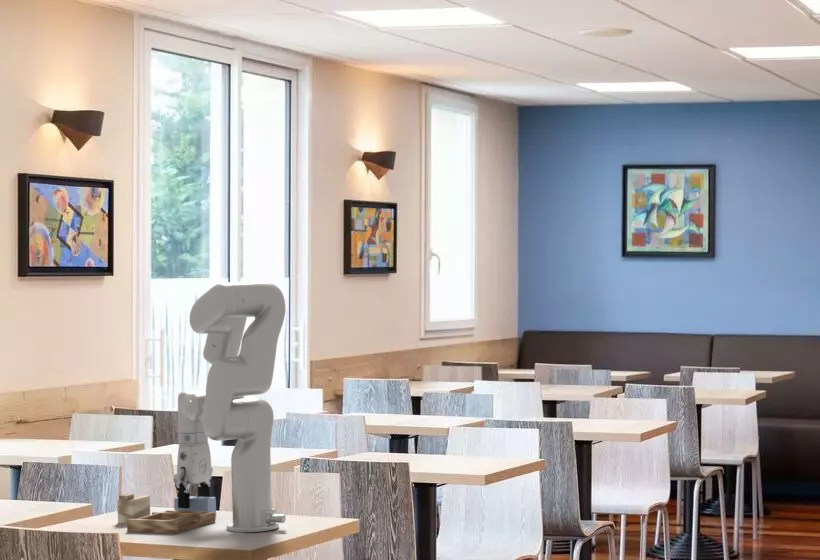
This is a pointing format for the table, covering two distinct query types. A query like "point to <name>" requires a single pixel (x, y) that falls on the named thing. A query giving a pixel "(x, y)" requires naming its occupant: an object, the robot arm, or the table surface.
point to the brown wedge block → (132, 507)
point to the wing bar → (198, 504)
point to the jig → (170, 521)
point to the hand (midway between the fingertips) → (194, 504)
